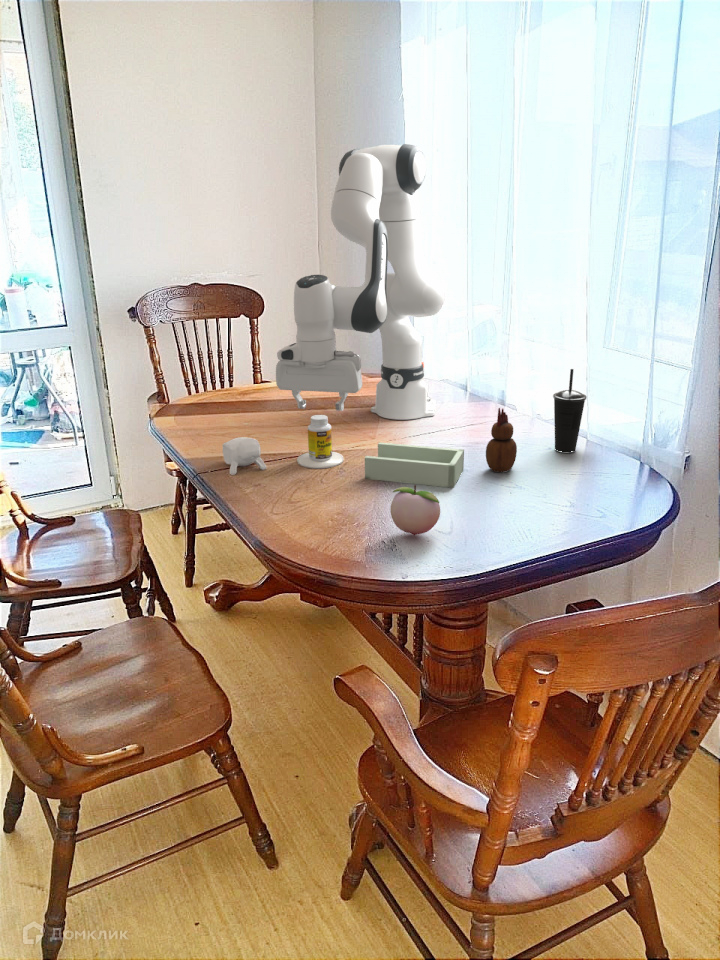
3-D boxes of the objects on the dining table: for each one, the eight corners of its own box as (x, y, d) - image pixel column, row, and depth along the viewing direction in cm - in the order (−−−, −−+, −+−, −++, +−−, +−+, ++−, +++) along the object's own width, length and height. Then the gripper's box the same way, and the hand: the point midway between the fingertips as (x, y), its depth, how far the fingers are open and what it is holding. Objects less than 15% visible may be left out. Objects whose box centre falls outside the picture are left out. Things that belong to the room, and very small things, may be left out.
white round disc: (307, 451, 182) (307, 449, 181) (349, 455, 178) (349, 453, 178) (290, 466, 172) (289, 463, 172) (334, 470, 169) (333, 468, 168)
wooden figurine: (496, 476, 163) (499, 411, 157) (480, 468, 168) (483, 405, 162) (520, 471, 166) (524, 407, 160) (504, 463, 170) (507, 401, 165)
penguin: (222, 477, 175) (237, 473, 161) (216, 442, 175) (230, 435, 161) (257, 471, 178) (274, 467, 164) (251, 437, 178) (267, 430, 164)
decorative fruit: (383, 541, 133) (382, 491, 130) (397, 524, 140) (396, 475, 137) (432, 549, 130) (433, 497, 127) (444, 530, 137) (445, 480, 134)
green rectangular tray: (379, 462, 173) (379, 442, 171) (463, 470, 167) (464, 449, 165) (364, 478, 163) (364, 457, 161) (453, 487, 157) (454, 465, 155)
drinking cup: (583, 447, 180) (591, 367, 173) (578, 456, 174) (586, 373, 167) (552, 443, 183) (558, 364, 176) (546, 453, 177) (552, 371, 170)
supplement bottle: (316, 463, 171) (314, 421, 168) (304, 457, 176) (302, 416, 172) (336, 459, 174) (335, 417, 170) (324, 452, 178) (323, 412, 175)
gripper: (364, 348, 165) (367, 407, 171) (281, 346, 171) (286, 403, 177) (355, 355, 160) (358, 415, 165) (270, 352, 166) (275, 410, 171)
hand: (320, 409), depth 171 cm, fingers open, 8 cm apart
